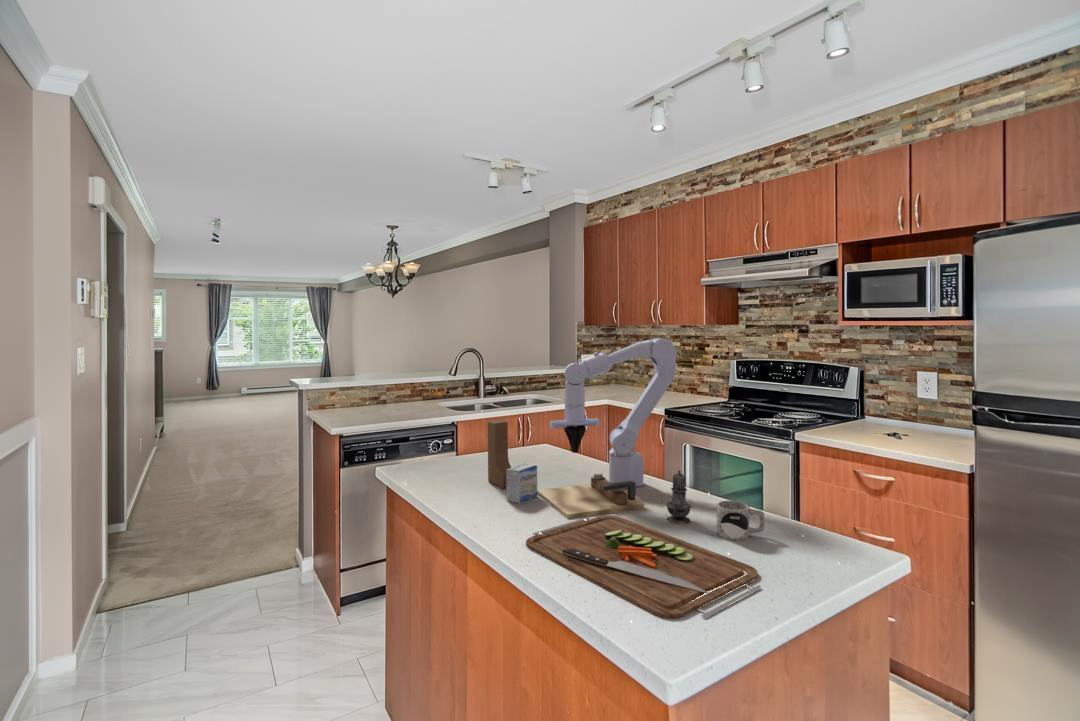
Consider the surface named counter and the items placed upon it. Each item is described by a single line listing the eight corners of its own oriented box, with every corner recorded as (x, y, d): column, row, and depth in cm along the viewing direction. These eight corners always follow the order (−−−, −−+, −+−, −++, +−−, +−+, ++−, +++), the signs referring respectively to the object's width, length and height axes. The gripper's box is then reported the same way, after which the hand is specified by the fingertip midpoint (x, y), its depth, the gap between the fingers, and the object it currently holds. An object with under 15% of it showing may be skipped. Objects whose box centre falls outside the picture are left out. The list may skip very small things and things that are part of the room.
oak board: (605, 485, 160) (605, 482, 160) (644, 507, 141) (644, 504, 141) (536, 493, 153) (536, 490, 153) (567, 518, 133) (567, 514, 133)
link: (588, 484, 157) (588, 473, 157) (602, 483, 158) (602, 472, 158) (616, 505, 139) (616, 492, 139) (631, 503, 140) (631, 490, 140)
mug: (719, 540, 120) (720, 509, 119) (714, 528, 126) (714, 500, 126) (768, 542, 118) (769, 511, 118) (760, 531, 125) (761, 501, 125)
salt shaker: (692, 525, 129) (693, 473, 128) (666, 523, 130) (666, 472, 129) (690, 516, 134) (691, 467, 134) (665, 515, 136) (666, 466, 135)
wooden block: (516, 486, 160) (516, 424, 159) (503, 489, 158) (502, 425, 156) (500, 479, 167) (500, 419, 166) (487, 481, 165) (486, 421, 164)
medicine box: (519, 504, 144) (519, 471, 144) (506, 501, 147) (505, 468, 147) (537, 496, 151) (537, 464, 150) (524, 493, 153) (524, 462, 153)
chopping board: (778, 583, 101) (778, 566, 101) (684, 634, 85) (684, 614, 85) (603, 516, 137) (603, 503, 136) (513, 542, 120) (513, 528, 120)
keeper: (632, 501, 146) (632, 480, 146) (636, 503, 144) (636, 482, 144) (600, 505, 143) (600, 484, 142) (603, 508, 141) (603, 486, 140)
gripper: (555, 408, 154) (555, 457, 155) (603, 405, 159) (603, 453, 160) (547, 404, 161) (547, 451, 162) (593, 402, 166) (593, 447, 166)
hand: (574, 452), depth 161 cm, fingers closed
